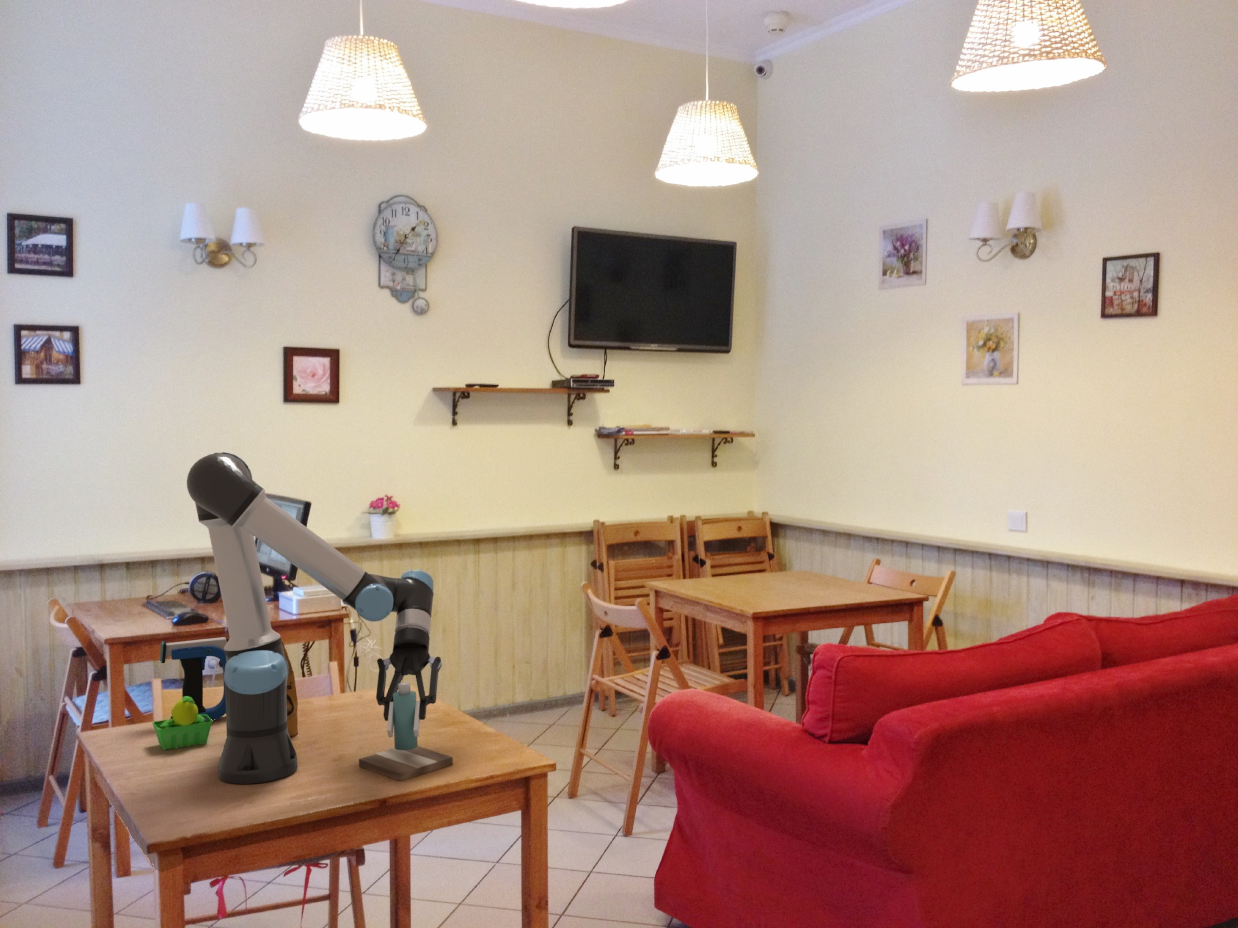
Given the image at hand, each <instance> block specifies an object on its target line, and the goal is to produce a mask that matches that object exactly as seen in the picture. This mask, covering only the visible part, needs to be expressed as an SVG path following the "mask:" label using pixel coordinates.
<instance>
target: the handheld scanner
mask: <svg viewBox="0 0 1238 928" xmlns="http://www.w3.org/2000/svg"><path fill="white" fill-rule="evenodd" d="M229 639H230V638H226V636H221V637H211V638H204V639H203V638H202V639H194V640H186V641H175V642H167V641H166V640H162V642H161V643H160V655H159V660H160V661H159V662H160V663H161V664H165V663H166V659H168V658H170V657H171V660H172V661H176V660H177V661H178V660H179V662H180V664H181V667H182V669H183V675H184V676H183V683H182V687H181V688H182V689H181V691H182V694H181V699H182V698H183V697H185V696H189V697H191V698H192V699H193V701H194V704H195V705H196V706H197V708H198V715H201V714H206V715H208V716H209V718H210V719H212V720H214V719H217V720H219V719H220V718H222V717H223V716H226V694H225V681H224V672H225V665H226V663H227V661H226V656H225V651H224V647H225V645H226V644H227V642H228V641H229ZM207 657H215V658H217V659H219V661H220V662H221V664H222V665H221V666H222V673H223V675H222V676H223V677H222V678H223V679H222V680H223V692H222V693H223V695H222V698H221V699H220V702H218V703H217V704H216V705H214V706H212V707H207V708H206V707H205V706H204V674H203V673H204V672H203V671H205V669H206V659H207ZM169 719H173V717H172V715H171V716H170V718H169Z"/></svg>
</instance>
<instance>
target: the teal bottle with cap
mask: <svg viewBox="0 0 1238 928" xmlns="http://www.w3.org/2000/svg"><path fill="white" fill-rule="evenodd" d="M416 701H417V692H416V691H414V690H411V683H410V682H408V681H407V682H405V681H404V682H401V683H399V684H398V691H397V692H395V693H394V694H393V710H394V727H393V737H394V738H393V740H394V741H393V744H394V748H395V749H397V750H411V749H415V748H416V747H417V746H418V736H416V737H415V734H414V730H413V729H414V718H415V706H416Z"/></svg>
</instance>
